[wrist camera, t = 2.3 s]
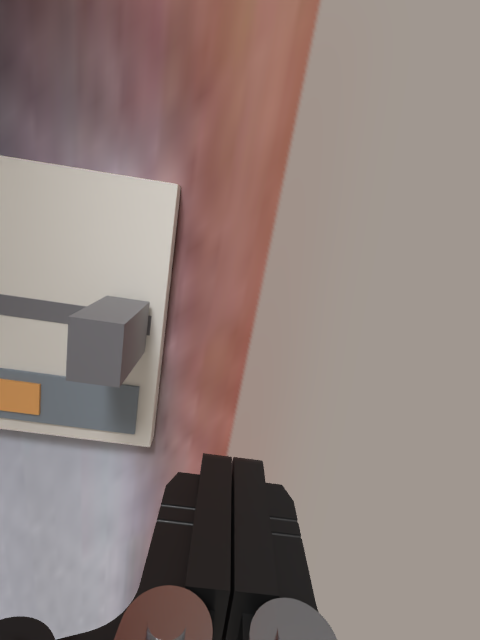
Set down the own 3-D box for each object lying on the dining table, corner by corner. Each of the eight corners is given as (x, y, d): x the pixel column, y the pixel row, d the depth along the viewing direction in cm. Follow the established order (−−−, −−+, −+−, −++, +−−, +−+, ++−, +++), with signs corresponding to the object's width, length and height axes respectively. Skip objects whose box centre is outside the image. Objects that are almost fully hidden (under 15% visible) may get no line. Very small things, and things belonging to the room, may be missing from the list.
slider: (106, 295, 21) (68, 316, 16) (149, 301, 21) (124, 324, 16) (103, 346, 22) (65, 380, 17) (144, 351, 22) (119, 387, 17)
